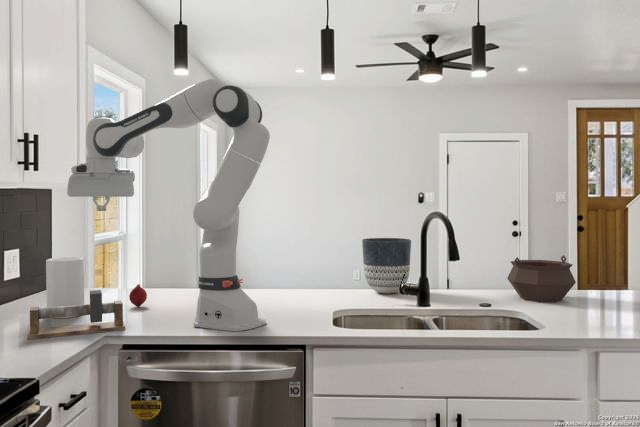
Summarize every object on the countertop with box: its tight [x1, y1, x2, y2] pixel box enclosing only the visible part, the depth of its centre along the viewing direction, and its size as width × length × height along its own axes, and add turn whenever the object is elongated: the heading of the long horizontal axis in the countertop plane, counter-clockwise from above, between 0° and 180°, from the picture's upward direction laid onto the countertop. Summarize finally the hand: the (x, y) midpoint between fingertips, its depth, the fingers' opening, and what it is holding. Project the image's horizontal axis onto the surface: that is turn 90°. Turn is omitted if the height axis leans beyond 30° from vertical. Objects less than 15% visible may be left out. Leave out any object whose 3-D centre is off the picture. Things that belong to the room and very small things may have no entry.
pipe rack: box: [27, 300, 126, 340], centre depth 157 cm, size 25×8×8 cm, turn 115°
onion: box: [128, 283, 148, 308], centre depth 192 cm, size 6×6×8 cm
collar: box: [89, 289, 103, 323], centre depth 159 cm, size 3×6×8 cm, turn 25°
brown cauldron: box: [506, 254, 577, 303], centre depth 205 cm, size 24×24×16 cm
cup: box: [45, 256, 85, 320], centre depth 179 cm, size 11×11×18 cm
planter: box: [361, 237, 412, 295], centre depth 219 cm, size 20×20×21 cm
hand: (101, 210), depth 178 cm, fingers closed
